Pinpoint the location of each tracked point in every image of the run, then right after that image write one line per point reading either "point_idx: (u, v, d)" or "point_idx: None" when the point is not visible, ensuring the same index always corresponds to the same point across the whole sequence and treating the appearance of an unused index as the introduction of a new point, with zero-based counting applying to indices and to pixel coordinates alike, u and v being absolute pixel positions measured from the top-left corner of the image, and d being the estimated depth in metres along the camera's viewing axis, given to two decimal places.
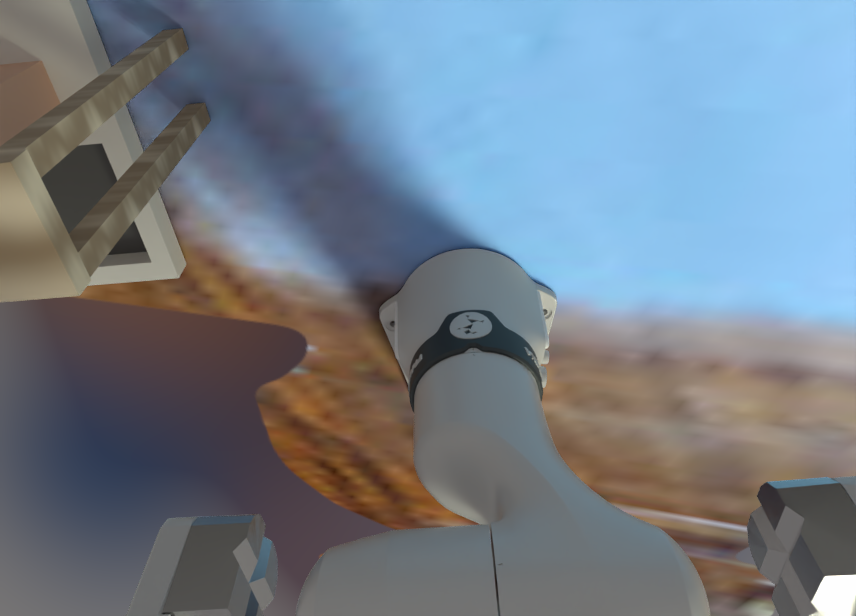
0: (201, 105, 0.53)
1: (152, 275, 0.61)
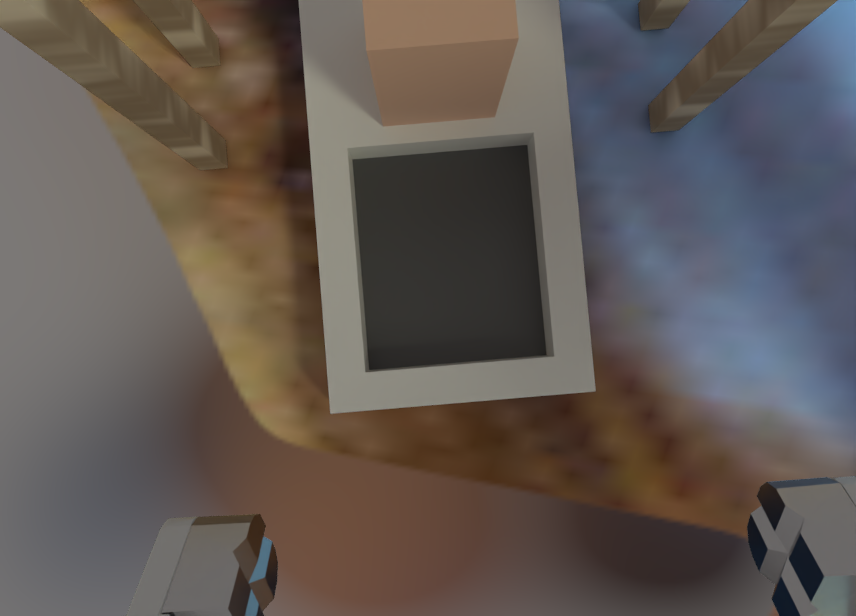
0: None
1: (548, 385, 0.33)
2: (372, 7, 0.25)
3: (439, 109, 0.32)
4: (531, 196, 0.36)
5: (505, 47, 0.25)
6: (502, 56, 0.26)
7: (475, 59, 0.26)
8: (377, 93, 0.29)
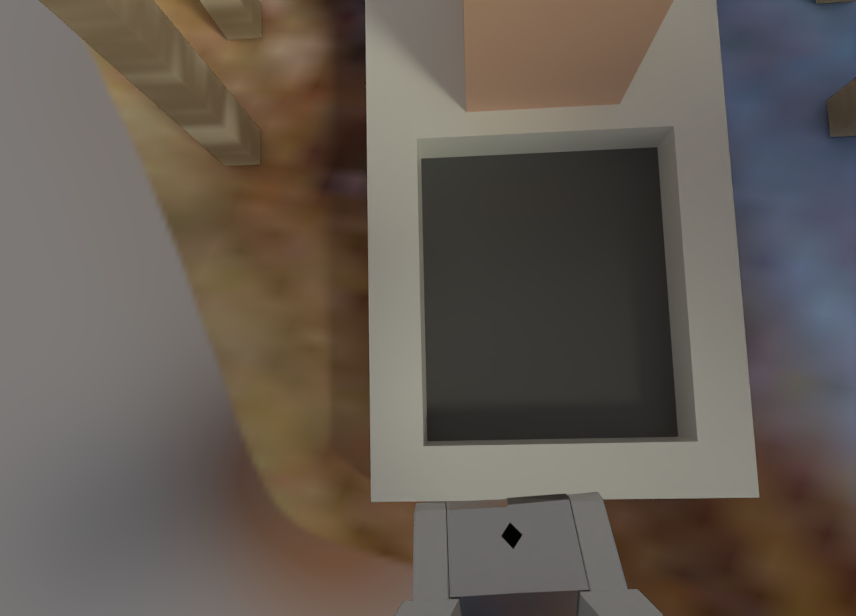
0: None
1: (687, 483, 0.23)
2: None
3: (548, 86, 0.23)
4: (661, 215, 0.26)
5: None
6: None
7: None
8: (467, 50, 0.20)
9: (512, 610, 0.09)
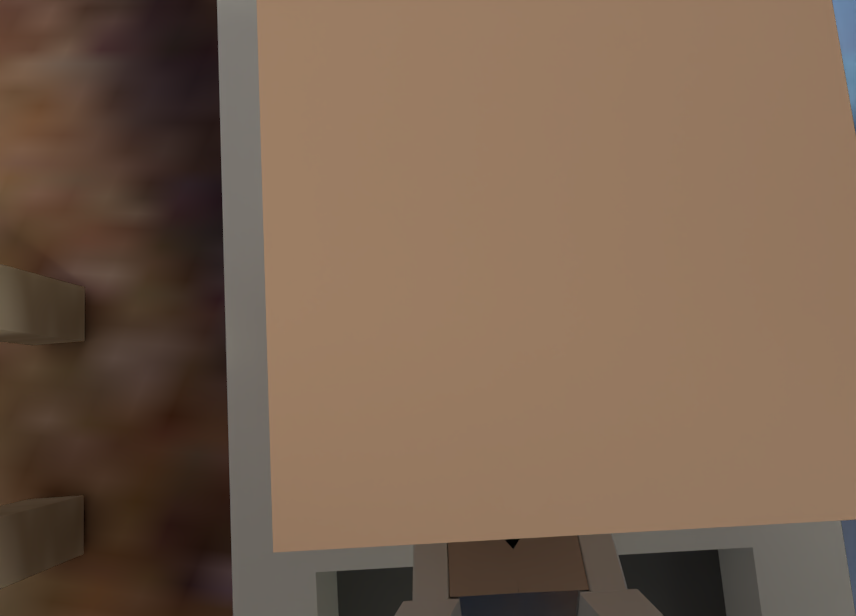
0: None
1: None
2: (305, 370, 0.06)
3: None
4: None
5: None
6: None
7: None
8: None
9: (512, 610, 0.09)
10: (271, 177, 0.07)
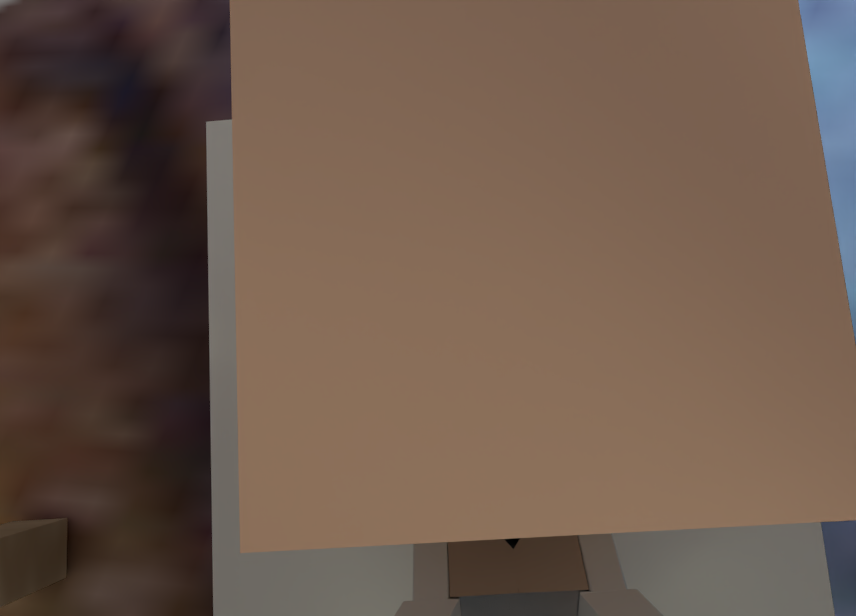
0: None
1: None
2: (274, 371, 0.06)
3: None
4: None
5: None
6: None
7: None
8: None
9: (512, 610, 0.09)
10: (242, 180, 0.07)
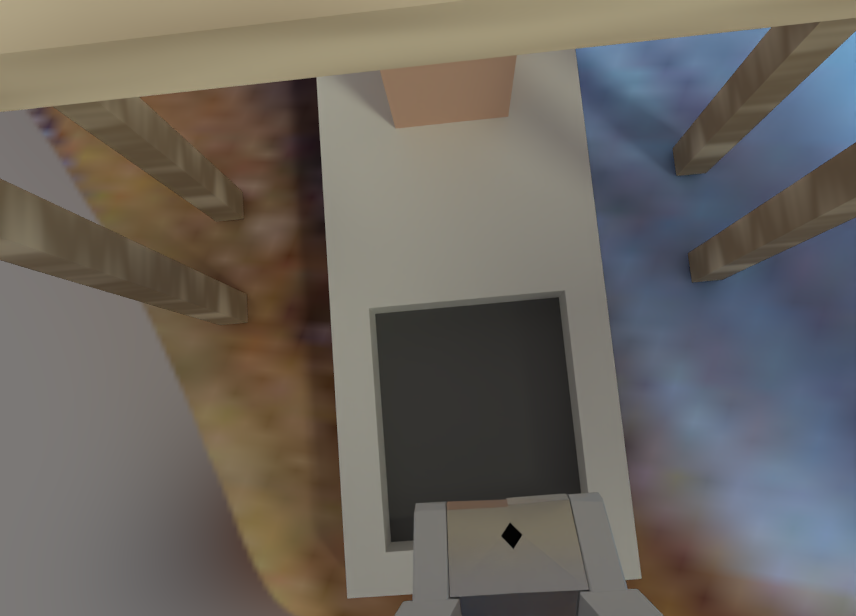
0: None
1: None
2: None
3: (451, 107, 0.32)
4: (564, 352, 0.33)
5: None
6: None
7: None
8: (385, 85, 0.29)
9: (512, 610, 0.09)
10: None
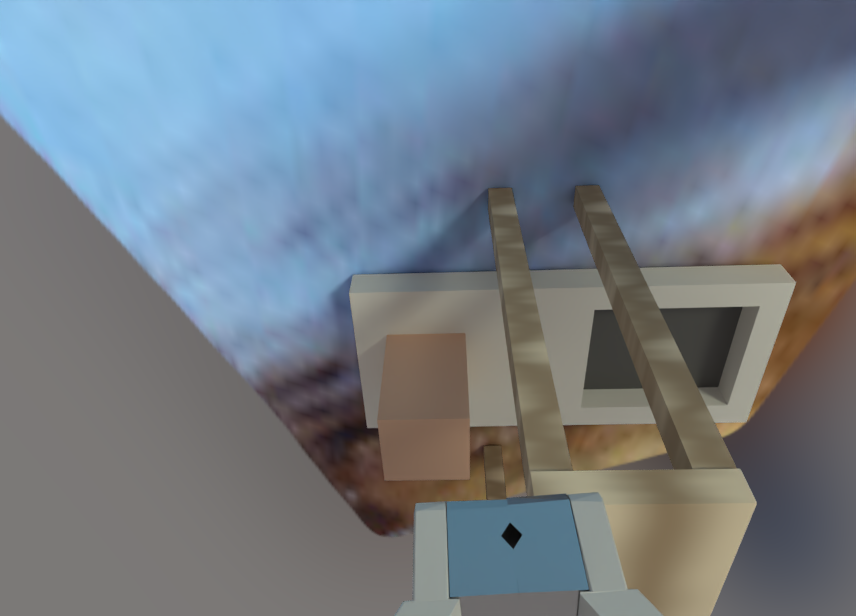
0: (577, 192, 0.43)
1: (778, 310, 0.46)
2: (445, 476, 0.44)
3: None
4: None
5: None
6: None
7: None
8: None
9: (512, 610, 0.09)
10: (416, 479, 0.44)
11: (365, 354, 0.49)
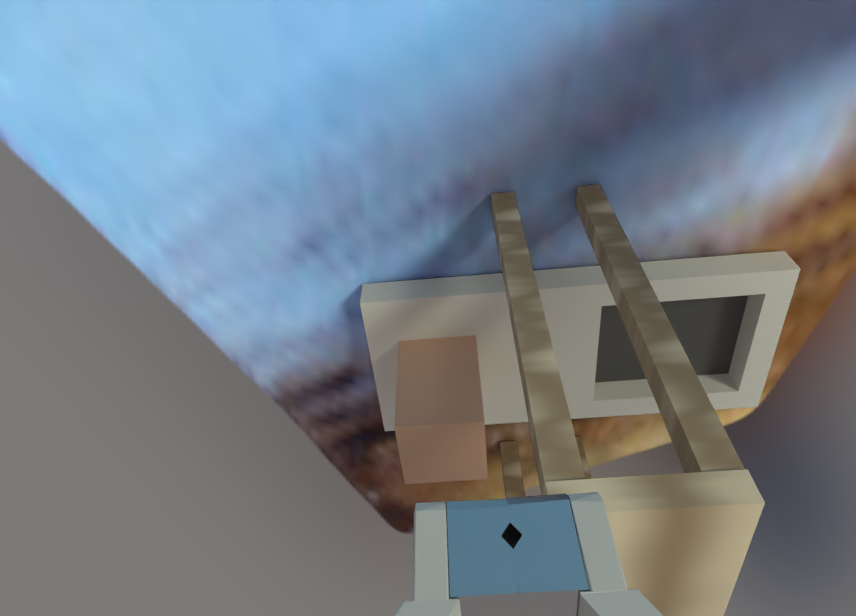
0: (579, 192, 0.43)
1: (784, 297, 0.47)
2: (463, 477, 0.45)
3: None
4: None
5: None
6: None
7: None
8: None
9: (512, 610, 0.09)
10: (435, 481, 0.45)
11: (378, 361, 0.50)
